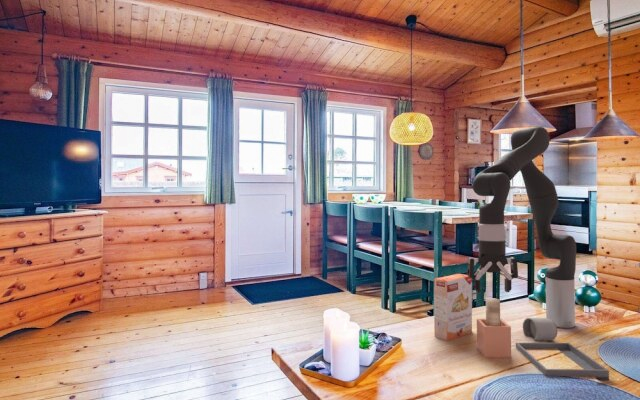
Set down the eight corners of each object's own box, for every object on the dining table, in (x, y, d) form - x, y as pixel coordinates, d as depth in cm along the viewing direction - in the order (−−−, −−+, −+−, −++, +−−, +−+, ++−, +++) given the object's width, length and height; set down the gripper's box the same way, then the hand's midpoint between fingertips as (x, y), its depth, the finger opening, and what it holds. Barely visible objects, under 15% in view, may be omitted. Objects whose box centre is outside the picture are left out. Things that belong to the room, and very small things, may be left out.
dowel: (484, 349, 128) (483, 298, 127) (498, 349, 127) (497, 298, 127) (489, 354, 124) (488, 301, 124) (502, 354, 123) (501, 301, 123)
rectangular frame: (515, 350, 129) (515, 342, 129) (569, 350, 128) (568, 342, 128) (545, 379, 109) (545, 369, 109) (609, 380, 108) (608, 370, 108)
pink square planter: (477, 350, 130) (476, 318, 130) (502, 350, 129) (501, 318, 129) (484, 360, 122) (484, 326, 122) (511, 360, 122) (510, 326, 121)
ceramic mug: (559, 343, 134) (559, 319, 134) (537, 345, 133) (536, 321, 133) (537, 333, 145) (537, 311, 145) (516, 334, 143) (515, 312, 143)
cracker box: (448, 344, 136) (447, 280, 135) (433, 339, 140) (432, 278, 140) (473, 334, 144) (472, 275, 144) (458, 330, 149) (457, 272, 148)
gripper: (511, 237, 128) (512, 289, 129) (464, 237, 129) (465, 289, 130) (521, 239, 121) (521, 294, 121) (471, 240, 122) (472, 294, 122)
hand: (492, 291), depth 125 cm, fingers open, 8 cm apart
